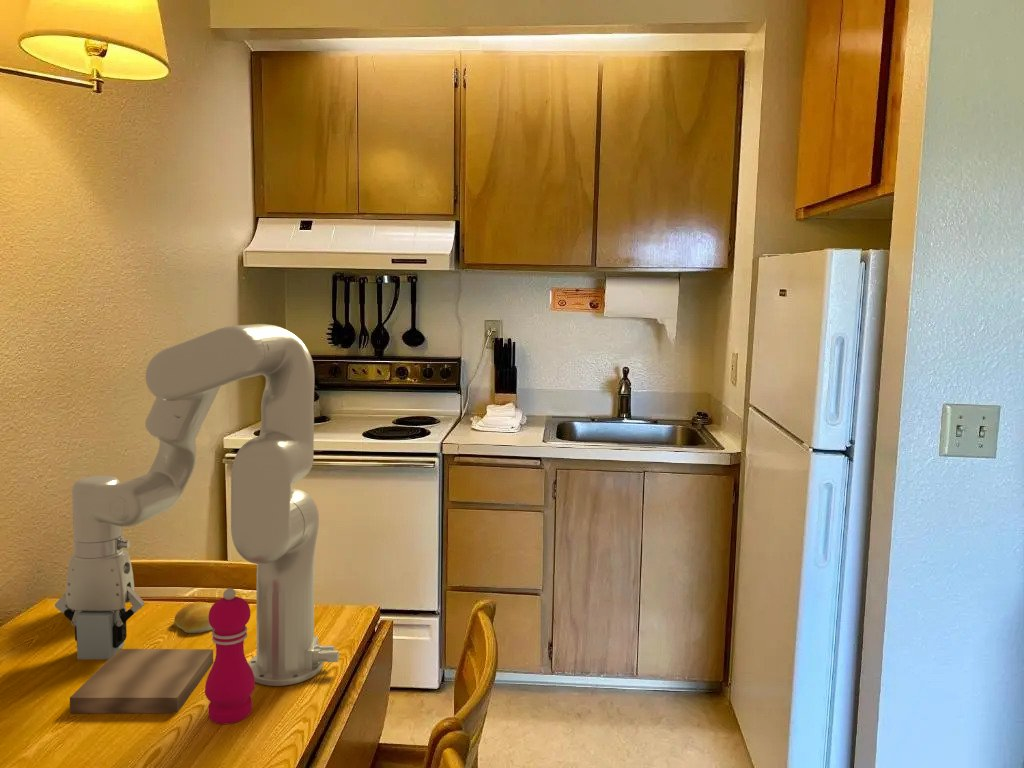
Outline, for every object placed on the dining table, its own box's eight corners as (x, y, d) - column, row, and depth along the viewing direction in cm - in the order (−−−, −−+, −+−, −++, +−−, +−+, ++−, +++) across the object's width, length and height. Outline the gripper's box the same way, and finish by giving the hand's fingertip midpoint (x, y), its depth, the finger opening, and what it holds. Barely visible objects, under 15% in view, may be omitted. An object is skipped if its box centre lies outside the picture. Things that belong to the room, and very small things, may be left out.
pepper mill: (205, 730, 109) (204, 600, 107) (204, 705, 116) (203, 583, 114) (256, 720, 112) (256, 594, 110) (253, 697, 119) (252, 577, 117)
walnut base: (213, 662, 129) (213, 649, 129) (177, 713, 113) (177, 697, 113) (119, 662, 128) (119, 648, 128) (70, 713, 112) (69, 697, 112)
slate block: (124, 644, 135) (123, 602, 134) (109, 659, 129) (108, 615, 129) (93, 644, 135) (92, 602, 134) (77, 659, 129) (76, 615, 128)
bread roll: (192, 638, 139) (191, 618, 138) (168, 625, 144) (167, 605, 144) (232, 624, 145) (232, 605, 145) (207, 612, 151) (207, 593, 150)
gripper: (157, 540, 134) (159, 635, 136) (60, 539, 133) (63, 634, 135) (139, 554, 127) (141, 654, 129) (35, 553, 126) (39, 654, 128)
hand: (101, 643), depth 132 cm, fingers closed on slate block, 5 cm apart
